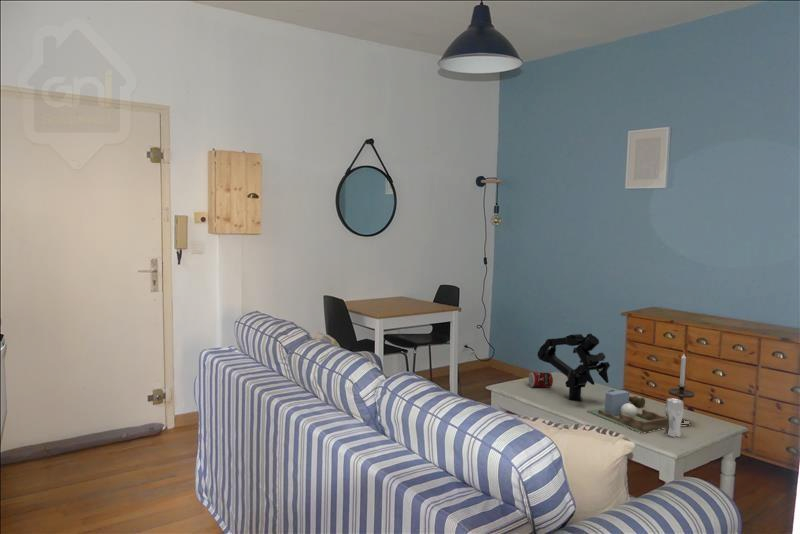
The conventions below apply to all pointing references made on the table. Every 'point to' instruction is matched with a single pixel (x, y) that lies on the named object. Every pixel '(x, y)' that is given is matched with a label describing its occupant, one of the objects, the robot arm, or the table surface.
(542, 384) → the canned food
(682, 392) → the candlestick
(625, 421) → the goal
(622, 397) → the block
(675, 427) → the beer glass
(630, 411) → the ball
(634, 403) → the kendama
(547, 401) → the table surface
